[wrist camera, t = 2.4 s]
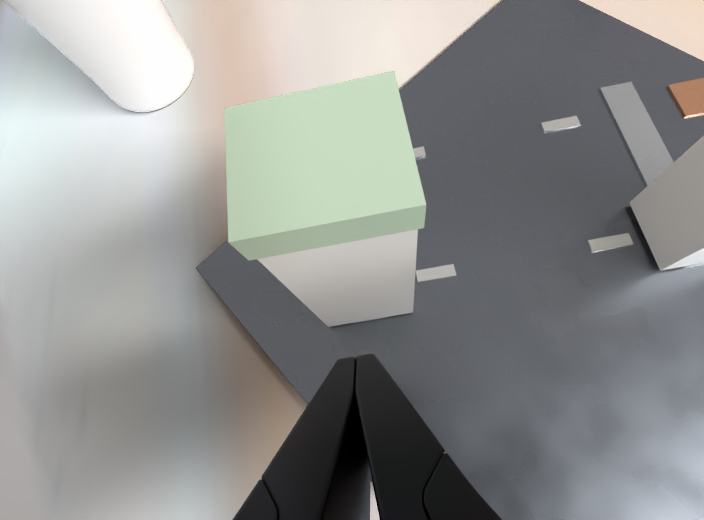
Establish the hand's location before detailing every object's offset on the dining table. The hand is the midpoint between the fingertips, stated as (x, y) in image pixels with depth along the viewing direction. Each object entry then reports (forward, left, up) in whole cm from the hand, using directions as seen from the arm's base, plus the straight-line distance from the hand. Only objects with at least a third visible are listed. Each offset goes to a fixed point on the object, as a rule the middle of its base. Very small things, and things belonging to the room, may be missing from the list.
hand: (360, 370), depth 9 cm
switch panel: (-3, -9, -7) cm, 12 cm away
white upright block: (+3, -2, -7) cm, 8 cm away
